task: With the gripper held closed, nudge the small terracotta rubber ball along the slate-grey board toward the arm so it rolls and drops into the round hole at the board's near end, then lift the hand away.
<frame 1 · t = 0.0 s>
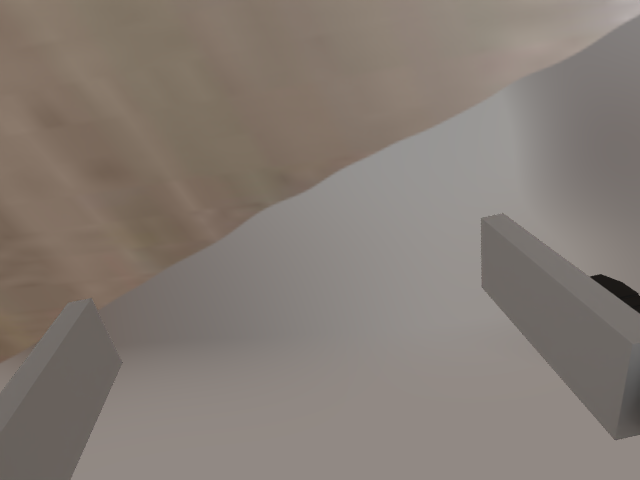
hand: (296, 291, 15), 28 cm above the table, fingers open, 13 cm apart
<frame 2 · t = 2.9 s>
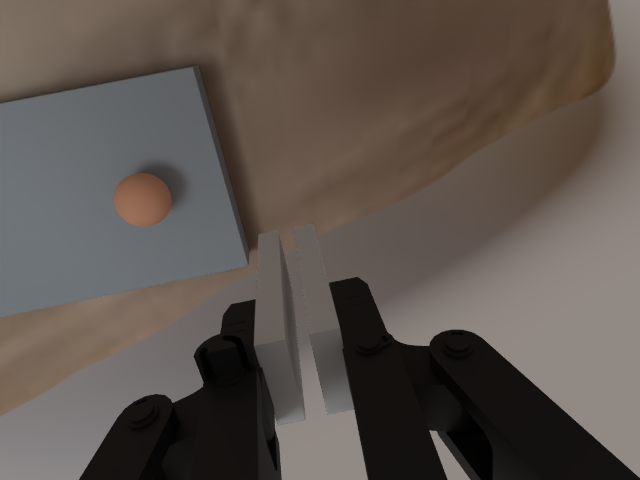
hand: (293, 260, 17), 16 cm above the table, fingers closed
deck: (54, 201, 31), on the table
ball: (143, 200, 27), point 4 cm above the table, touching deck
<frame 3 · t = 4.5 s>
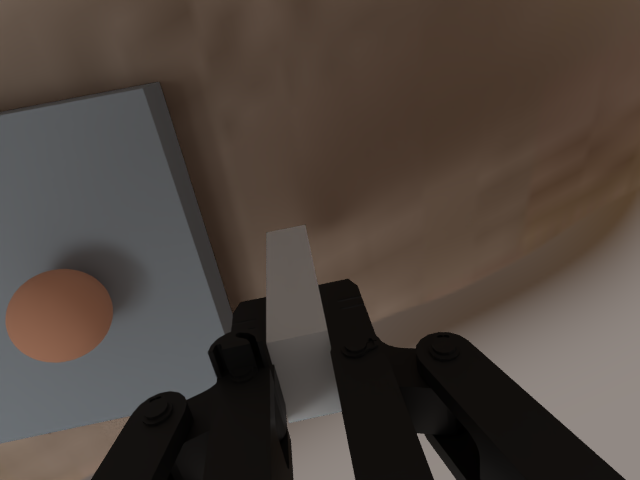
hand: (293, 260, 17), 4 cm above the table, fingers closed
ball: (62, 314, 16), point 4 cm above the table, touching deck
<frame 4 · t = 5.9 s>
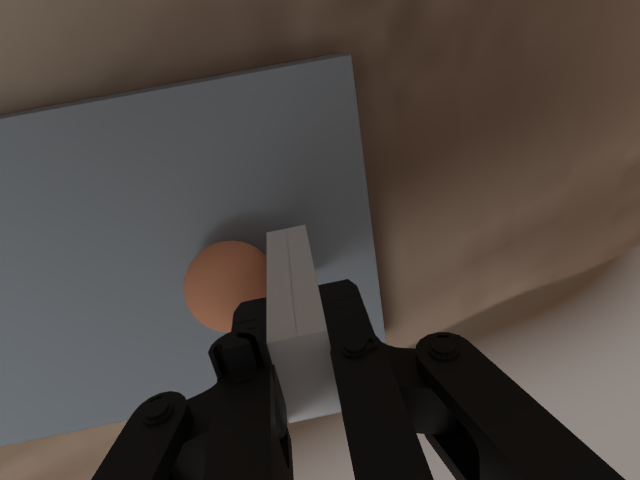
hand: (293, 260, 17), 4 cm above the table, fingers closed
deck: (92, 267, 20), on the table
ball: (231, 285, 16), point 4 cm above the table, tilted 25°, touching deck, gripper
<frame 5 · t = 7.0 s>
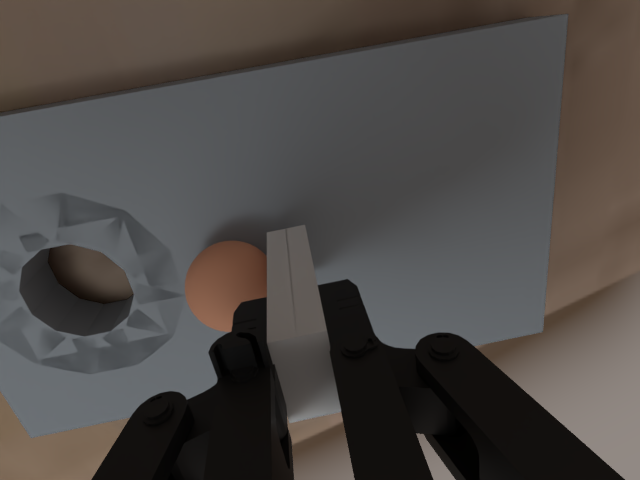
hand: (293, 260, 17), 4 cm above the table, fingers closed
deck: (261, 232, 20), on the table
ball: (232, 285, 16), point 4 cm above the table, tilted 101°, touching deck, gripper
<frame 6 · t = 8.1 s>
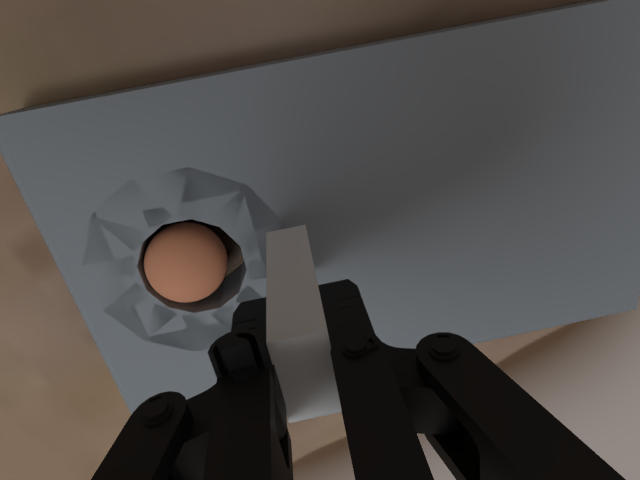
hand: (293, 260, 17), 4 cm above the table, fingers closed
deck: (360, 210, 20), on the table
ball: (186, 262, 18), point 2 cm above the table, tilted 127°
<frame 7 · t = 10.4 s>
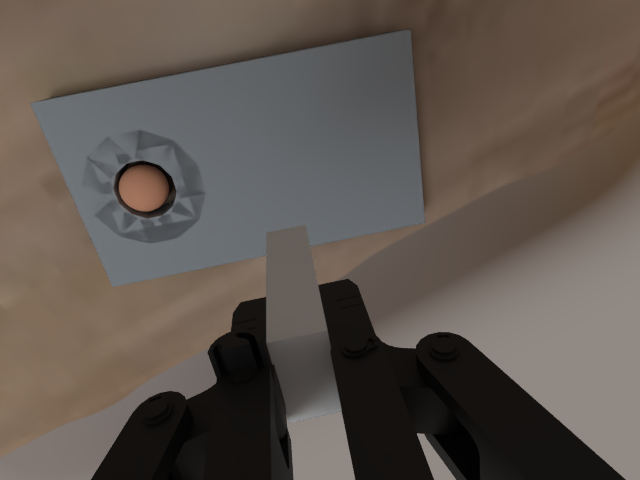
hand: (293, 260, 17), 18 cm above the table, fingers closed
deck: (250, 160, 33), on the table
ball: (144, 188, 32), point 2 cm above the table, tilted 124°
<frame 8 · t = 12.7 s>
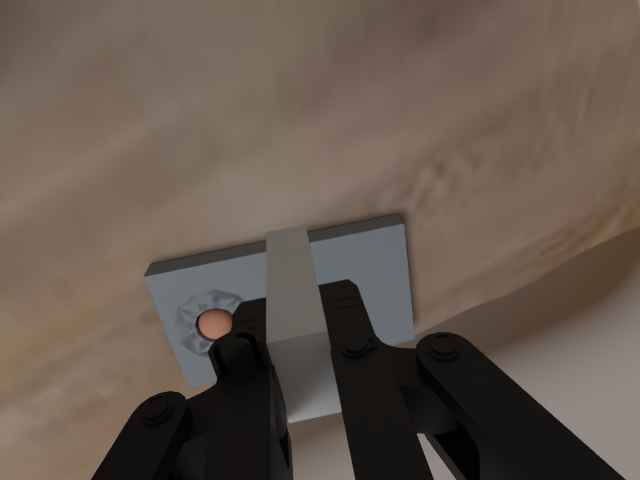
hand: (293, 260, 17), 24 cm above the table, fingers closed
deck: (288, 297, 46), on the table
ball: (215, 321, 44), point 2 cm above the table, tilted 121°
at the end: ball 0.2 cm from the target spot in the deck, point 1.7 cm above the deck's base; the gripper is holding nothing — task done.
